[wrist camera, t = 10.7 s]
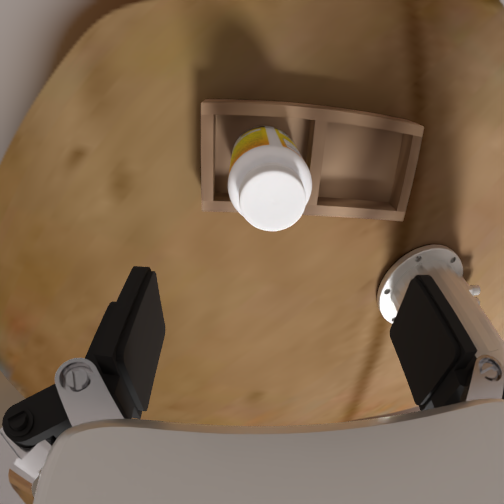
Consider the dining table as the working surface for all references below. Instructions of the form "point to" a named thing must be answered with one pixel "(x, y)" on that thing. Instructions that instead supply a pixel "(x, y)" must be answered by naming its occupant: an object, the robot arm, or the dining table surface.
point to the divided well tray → (319, 155)
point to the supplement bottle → (268, 179)
